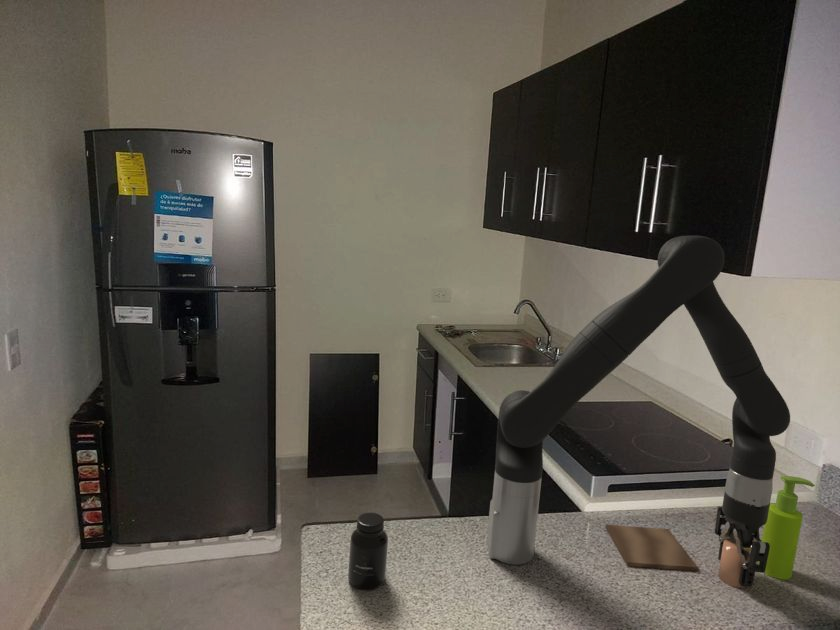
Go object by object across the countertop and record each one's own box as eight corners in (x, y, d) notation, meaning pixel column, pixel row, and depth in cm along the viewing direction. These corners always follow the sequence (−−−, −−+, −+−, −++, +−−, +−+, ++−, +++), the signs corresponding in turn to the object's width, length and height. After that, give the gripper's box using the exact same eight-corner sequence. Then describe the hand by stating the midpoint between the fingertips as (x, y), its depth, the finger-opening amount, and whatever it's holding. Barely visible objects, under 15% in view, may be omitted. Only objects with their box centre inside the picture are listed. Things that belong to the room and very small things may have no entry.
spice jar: (726, 587, 105) (732, 553, 103) (713, 570, 110) (718, 538, 109) (754, 589, 104) (760, 555, 103) (739, 572, 110) (744, 540, 109)
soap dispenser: (802, 582, 107) (821, 487, 104) (764, 576, 109) (781, 482, 106) (789, 565, 113) (806, 474, 110) (752, 559, 114) (768, 469, 111)
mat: (627, 565, 109) (627, 562, 109) (605, 527, 123) (605, 524, 123) (697, 570, 109) (697, 567, 109) (667, 532, 123) (668, 529, 123)
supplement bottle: (356, 595, 96) (359, 532, 94) (342, 573, 102) (345, 513, 100) (391, 585, 99) (395, 524, 97) (377, 564, 105) (380, 506, 103)
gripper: (708, 476, 111) (697, 550, 114) (748, 512, 97) (734, 596, 100) (746, 478, 111) (733, 552, 114) (791, 515, 97) (776, 599, 100)
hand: (734, 572), depth 107 cm, fingers open, 7 cm apart
